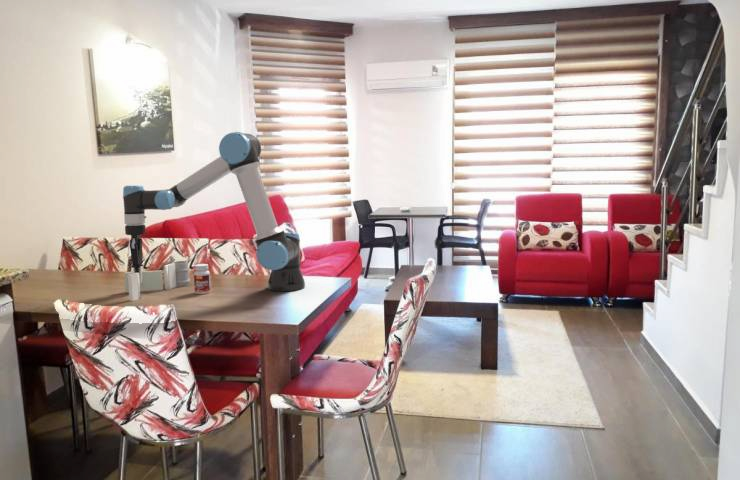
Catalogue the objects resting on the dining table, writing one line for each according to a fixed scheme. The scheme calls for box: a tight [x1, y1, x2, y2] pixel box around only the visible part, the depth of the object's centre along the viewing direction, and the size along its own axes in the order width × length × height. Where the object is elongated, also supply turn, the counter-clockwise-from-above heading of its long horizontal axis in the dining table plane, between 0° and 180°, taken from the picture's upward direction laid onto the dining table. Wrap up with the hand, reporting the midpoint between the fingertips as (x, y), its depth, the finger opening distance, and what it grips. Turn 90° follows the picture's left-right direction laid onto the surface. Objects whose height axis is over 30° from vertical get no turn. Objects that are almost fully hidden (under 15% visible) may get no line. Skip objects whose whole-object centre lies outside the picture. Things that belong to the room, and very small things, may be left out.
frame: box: [128, 263, 177, 302], centre depth 228 cm, size 2×26×10 cm, turn 161°
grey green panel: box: [124, 269, 164, 293], centre depth 232 cm, size 2×14×8 cm, turn 107°
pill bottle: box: [193, 263, 212, 295], centre depth 228 cm, size 6×6×11 cm
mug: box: [169, 255, 192, 288], centre depth 245 cm, size 8×12×12 cm, turn 54°
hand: (138, 283), depth 230 cm, fingers closed
